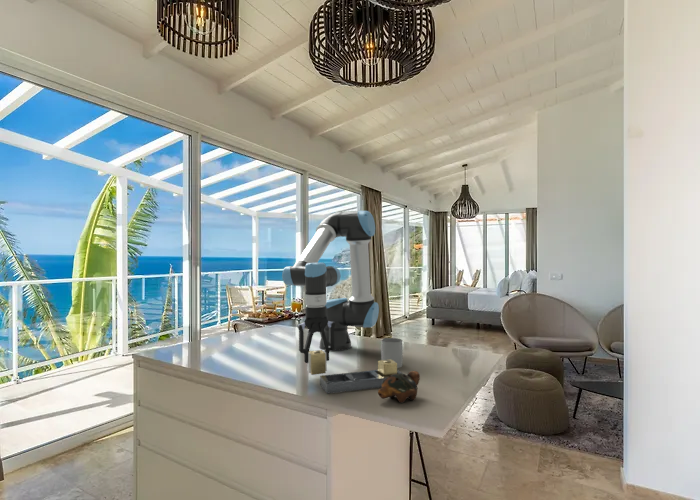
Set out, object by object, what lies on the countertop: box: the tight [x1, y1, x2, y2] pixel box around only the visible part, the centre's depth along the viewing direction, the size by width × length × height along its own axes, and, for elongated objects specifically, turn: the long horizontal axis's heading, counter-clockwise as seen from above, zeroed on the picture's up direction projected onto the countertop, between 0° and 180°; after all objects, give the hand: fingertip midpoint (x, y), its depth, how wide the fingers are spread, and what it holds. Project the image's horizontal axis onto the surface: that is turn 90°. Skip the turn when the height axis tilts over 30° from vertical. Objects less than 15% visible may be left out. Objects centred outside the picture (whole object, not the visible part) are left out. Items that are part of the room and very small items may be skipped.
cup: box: [380, 337, 403, 369], centre depth 158 cm, size 8×8×10 cm
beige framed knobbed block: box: [377, 359, 398, 377], centre depth 138 cm, size 5×5×7 cm
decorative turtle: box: [377, 370, 421, 404], centre depth 121 cm, size 10×15×8 cm, turn 126°
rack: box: [319, 369, 404, 395], centre depth 135 cm, size 9×28×3 cm, turn 108°
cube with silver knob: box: [309, 349, 327, 376], centre depth 141 cm, size 5×5×7 cm
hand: (316, 370), depth 141 cm, fingers closed on cube with silver knob, 5 cm apart
